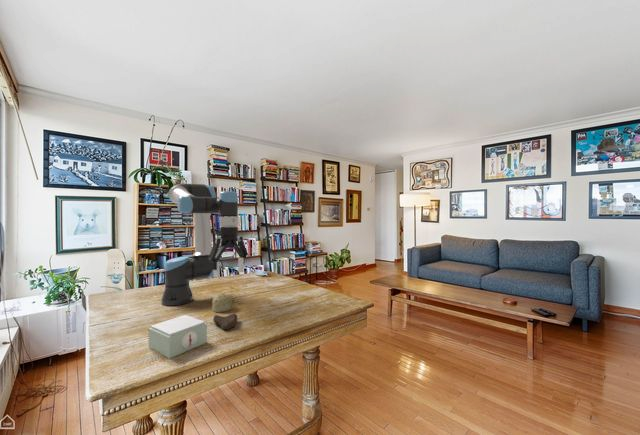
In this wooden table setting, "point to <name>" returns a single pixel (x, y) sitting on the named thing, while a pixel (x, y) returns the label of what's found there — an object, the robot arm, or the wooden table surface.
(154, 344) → the scale
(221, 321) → the rock
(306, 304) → the wooden table surface
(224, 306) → the decorative object
